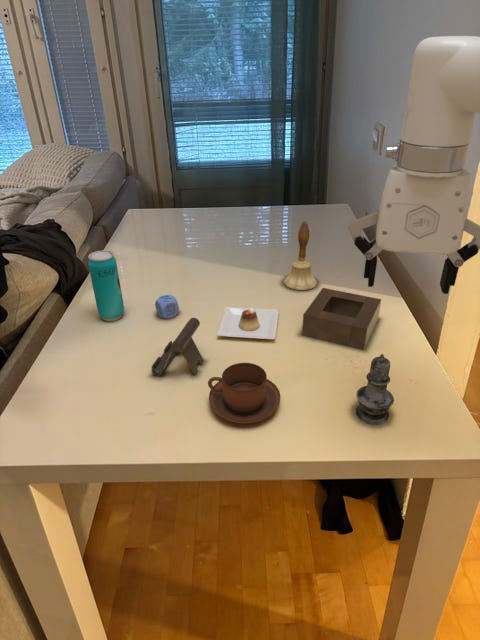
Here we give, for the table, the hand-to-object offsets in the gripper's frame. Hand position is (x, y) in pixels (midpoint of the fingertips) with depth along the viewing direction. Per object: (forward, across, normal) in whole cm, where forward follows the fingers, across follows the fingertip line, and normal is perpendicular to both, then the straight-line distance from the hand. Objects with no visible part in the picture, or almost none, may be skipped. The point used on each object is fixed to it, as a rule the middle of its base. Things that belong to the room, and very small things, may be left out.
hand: (406, 285), depth 64 cm
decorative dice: (+24, -47, +23) cm, 57 cm away
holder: (+24, -8, +26) cm, 36 cm away
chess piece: (+24, -2, 0) cm, 24 cm away
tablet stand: (+24, -37, +6) cm, 45 cm away
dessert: (+24, -28, +22) cm, 43 cm away
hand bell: (+24, -19, +45) cm, 54 cm away
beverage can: (+24, -59, +20) cm, 66 cm away
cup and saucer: (+24, -23, -3) cm, 33 cm away
